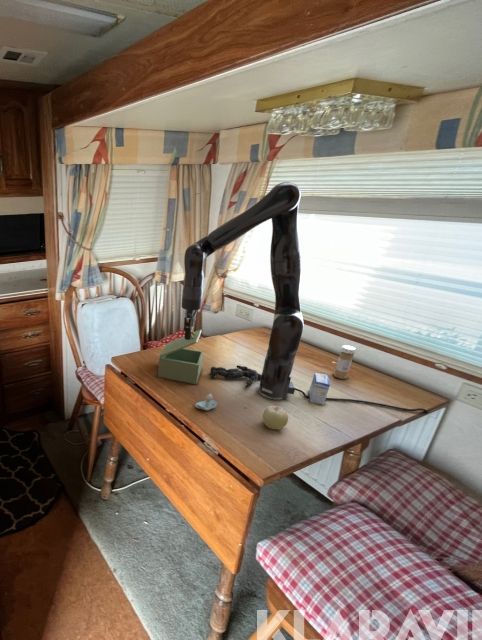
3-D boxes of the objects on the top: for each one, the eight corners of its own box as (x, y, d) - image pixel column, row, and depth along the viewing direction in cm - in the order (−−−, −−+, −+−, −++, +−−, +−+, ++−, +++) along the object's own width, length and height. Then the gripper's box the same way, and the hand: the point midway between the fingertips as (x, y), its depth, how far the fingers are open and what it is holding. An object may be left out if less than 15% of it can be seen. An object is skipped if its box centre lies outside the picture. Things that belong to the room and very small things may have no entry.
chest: (201, 369, 154) (203, 351, 151) (196, 384, 143) (198, 365, 139) (165, 363, 160) (166, 345, 157) (157, 376, 149) (159, 357, 146)
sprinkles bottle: (345, 375, 149) (355, 346, 143) (347, 380, 145) (356, 350, 140) (332, 373, 151) (341, 344, 145) (333, 377, 147) (342, 348, 142)
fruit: (288, 435, 114) (293, 414, 111) (262, 431, 116) (267, 410, 112) (282, 421, 120) (287, 401, 117) (258, 417, 122) (263, 397, 119)
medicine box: (308, 391, 137) (314, 372, 134) (322, 394, 135) (328, 374, 132) (309, 402, 131) (315, 381, 127) (324, 405, 129) (330, 384, 125)
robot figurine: (213, 388, 141) (268, 391, 137) (214, 378, 140) (270, 381, 136) (208, 367, 157) (257, 370, 153) (209, 358, 156) (258, 361, 152)
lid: (202, 330, 148) (196, 320, 147) (197, 342, 137) (190, 331, 136) (167, 345, 157) (161, 335, 156) (159, 357, 145) (153, 347, 145)
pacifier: (191, 406, 129) (203, 414, 124) (192, 391, 127) (205, 398, 122) (205, 400, 132) (218, 408, 127) (207, 386, 130) (220, 393, 125)
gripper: (199, 302, 130) (195, 344, 137) (204, 292, 142) (200, 331, 149) (178, 300, 133) (175, 342, 140) (185, 290, 145) (182, 329, 152)
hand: (188, 336), depth 144 cm, fingers closed on lid, 5 cm apart
